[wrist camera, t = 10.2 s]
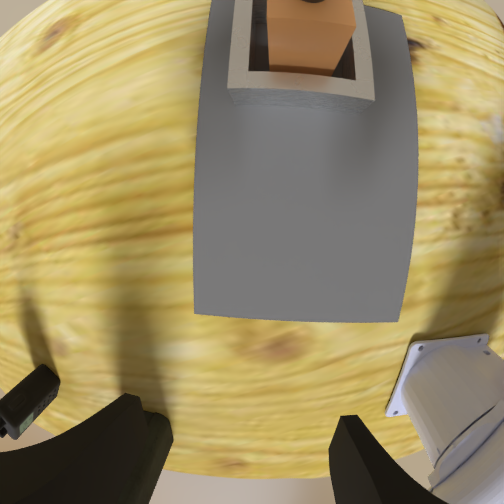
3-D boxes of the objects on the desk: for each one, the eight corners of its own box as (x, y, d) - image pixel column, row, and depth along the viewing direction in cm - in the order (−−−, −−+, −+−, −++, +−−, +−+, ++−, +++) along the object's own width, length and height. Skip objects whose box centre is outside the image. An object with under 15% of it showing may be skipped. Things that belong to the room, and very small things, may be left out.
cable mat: (397, 20, 13) (401, 15, 12) (393, 317, 18) (397, 322, 17) (214, 1, 14) (212, -5, 13) (197, 308, 19) (194, 313, 18)
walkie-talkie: (56, 398, 23) (-10, 472, 8) (37, 379, 23) (-33, 447, 8) (62, 379, 22) (-17, 461, 7) (40, 358, 22) (-43, 431, 7)
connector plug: (324, 40, 13) (353, -45, 5) (327, 84, 14) (367, 6, 6) (270, 36, 14) (266, -54, 5) (269, 80, 14) (265, -6, 6)
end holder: (351, 22, 13) (362, -1, 10) (358, 114, 14) (375, 100, 12) (241, 13, 13) (236, -12, 10) (235, 105, 15) (227, 88, 12)
